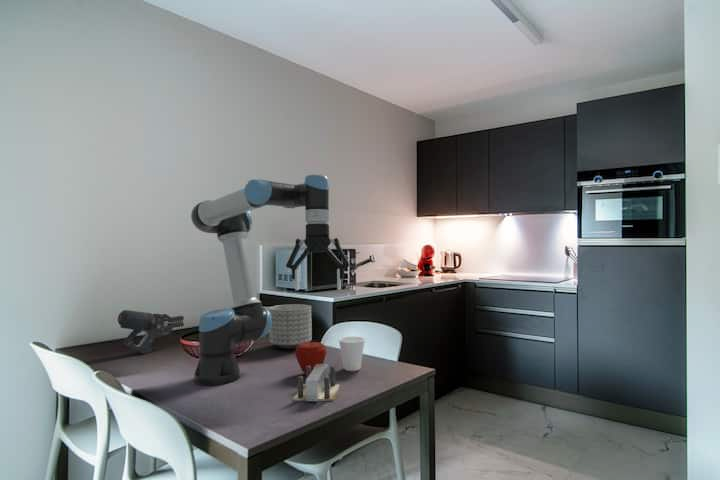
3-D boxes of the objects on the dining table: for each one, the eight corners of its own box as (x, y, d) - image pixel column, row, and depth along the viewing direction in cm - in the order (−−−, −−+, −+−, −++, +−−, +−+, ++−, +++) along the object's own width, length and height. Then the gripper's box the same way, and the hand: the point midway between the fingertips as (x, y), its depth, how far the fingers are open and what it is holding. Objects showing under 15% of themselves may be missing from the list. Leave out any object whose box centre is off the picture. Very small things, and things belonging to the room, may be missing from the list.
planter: (317, 342, 196) (316, 304, 196) (303, 353, 177) (302, 310, 178) (280, 341, 200) (279, 303, 200) (262, 351, 182) (261, 309, 182)
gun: (115, 357, 174) (114, 310, 174) (178, 344, 197) (178, 302, 197) (122, 360, 170) (122, 311, 170) (186, 346, 193) (185, 303, 193)
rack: (293, 400, 122) (292, 378, 122) (303, 385, 135) (303, 365, 135) (333, 401, 121) (332, 378, 121) (339, 386, 134) (339, 365, 134)
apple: (292, 372, 150) (292, 338, 150) (320, 368, 154) (320, 335, 155) (300, 381, 140) (300, 345, 140) (330, 376, 144) (330, 342, 144)
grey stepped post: (318, 401, 120) (318, 380, 120) (305, 401, 120) (304, 380, 120) (328, 382, 136) (328, 363, 137) (316, 382, 137) (316, 363, 137)
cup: (362, 373, 147) (362, 342, 147) (335, 372, 149) (335, 341, 149) (367, 365, 157) (367, 336, 157) (342, 364, 159) (342, 336, 159)
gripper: (276, 223, 130) (276, 291, 130) (354, 222, 128) (355, 290, 127) (282, 224, 137) (283, 288, 137) (357, 223, 135) (358, 288, 135)
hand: (318, 289), depth 132 cm, fingers open, 13 cm apart
